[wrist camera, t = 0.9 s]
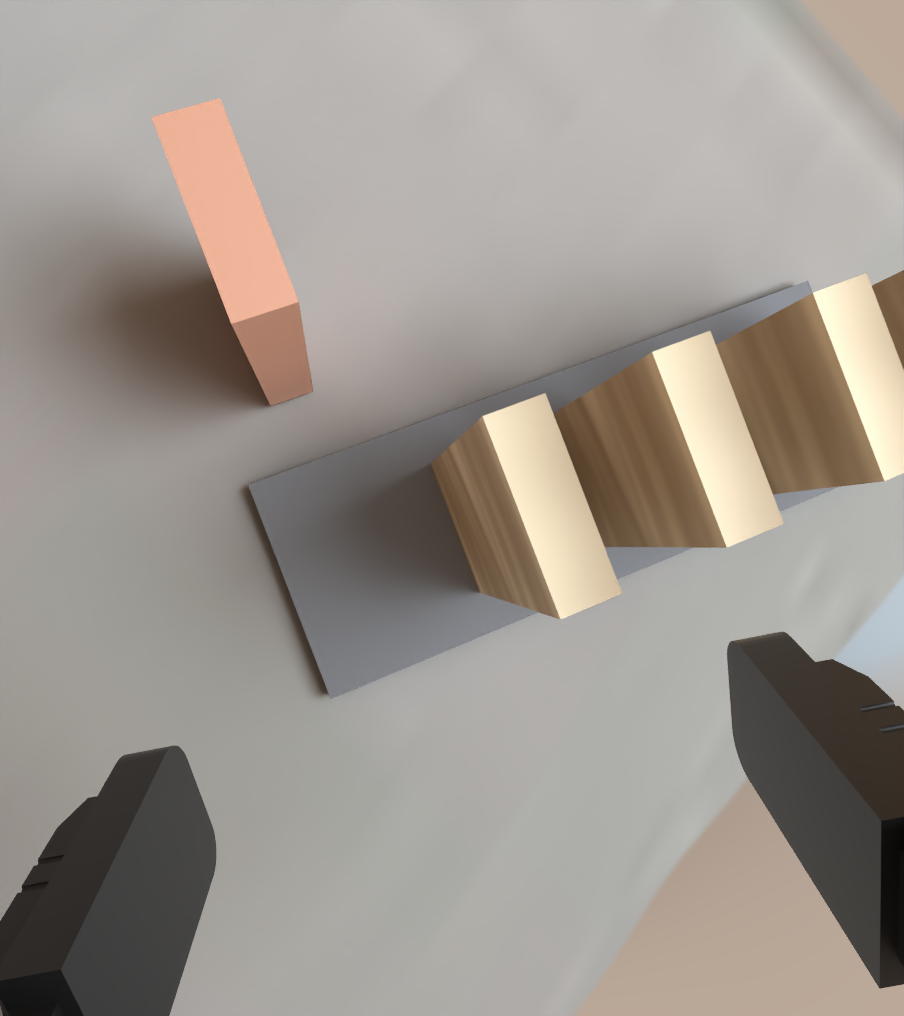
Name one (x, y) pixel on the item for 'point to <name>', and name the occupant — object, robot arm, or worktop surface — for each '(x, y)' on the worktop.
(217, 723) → the worktop surface
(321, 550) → the mat
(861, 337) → the maple domino
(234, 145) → the terracotta domino
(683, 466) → the maple domino
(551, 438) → the maple domino
